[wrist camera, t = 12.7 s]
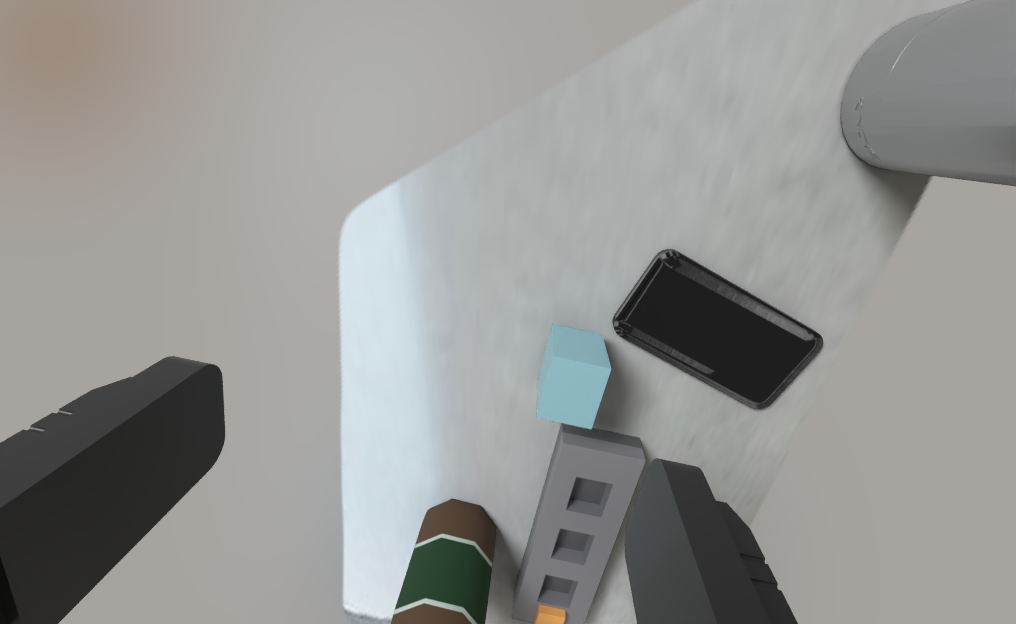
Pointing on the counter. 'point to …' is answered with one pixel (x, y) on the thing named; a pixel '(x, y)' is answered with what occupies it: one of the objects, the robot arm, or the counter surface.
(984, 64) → the robot arm
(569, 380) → the block
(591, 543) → the power strip
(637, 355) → the counter surface
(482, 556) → the beer bottle
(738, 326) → the phone
